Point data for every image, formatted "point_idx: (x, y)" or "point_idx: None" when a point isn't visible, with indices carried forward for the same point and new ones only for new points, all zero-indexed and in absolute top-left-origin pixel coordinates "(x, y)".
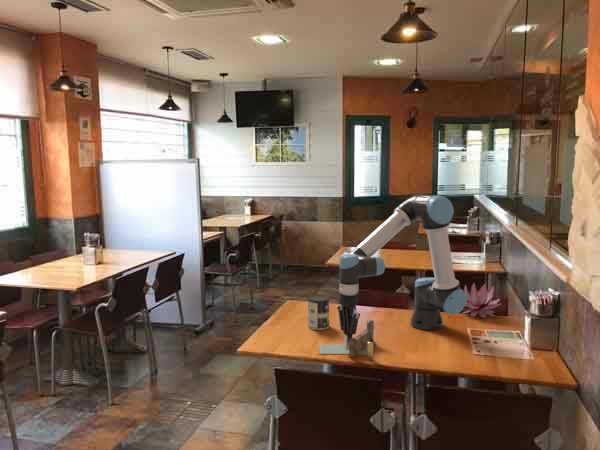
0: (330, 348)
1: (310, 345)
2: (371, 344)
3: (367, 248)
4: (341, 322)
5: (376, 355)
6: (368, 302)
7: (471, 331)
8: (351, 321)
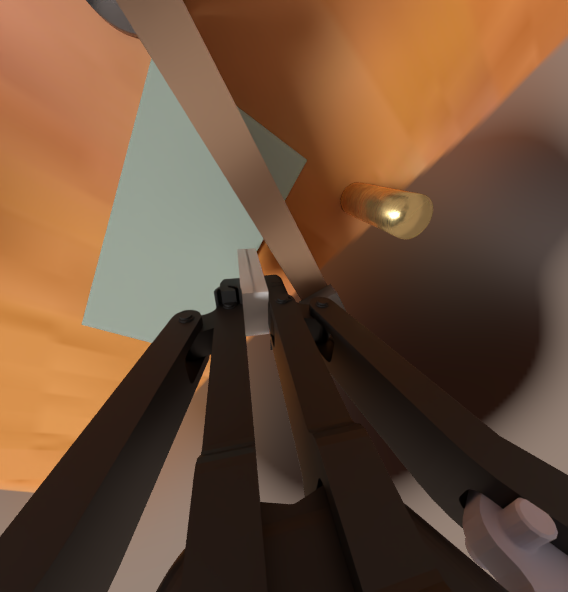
0: (156, 300)
1: (80, 353)
2: (425, 219)
3: None
4: (184, 411)
5: (341, 124)
6: None
7: None
8: (392, 444)
